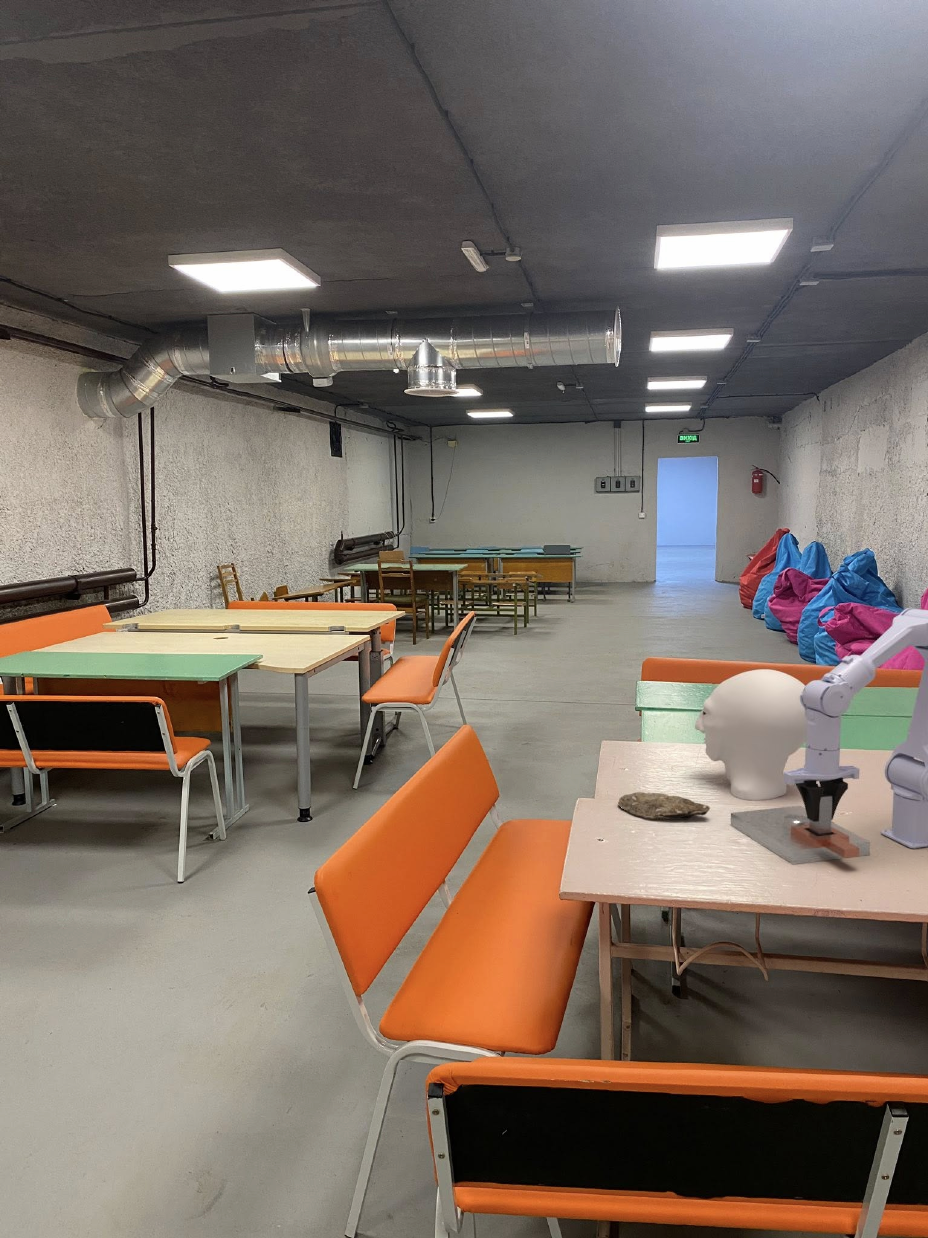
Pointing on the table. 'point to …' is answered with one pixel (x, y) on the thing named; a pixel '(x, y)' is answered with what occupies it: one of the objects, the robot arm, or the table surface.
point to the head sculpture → (754, 730)
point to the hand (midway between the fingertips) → (819, 819)
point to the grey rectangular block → (823, 817)
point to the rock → (661, 806)
